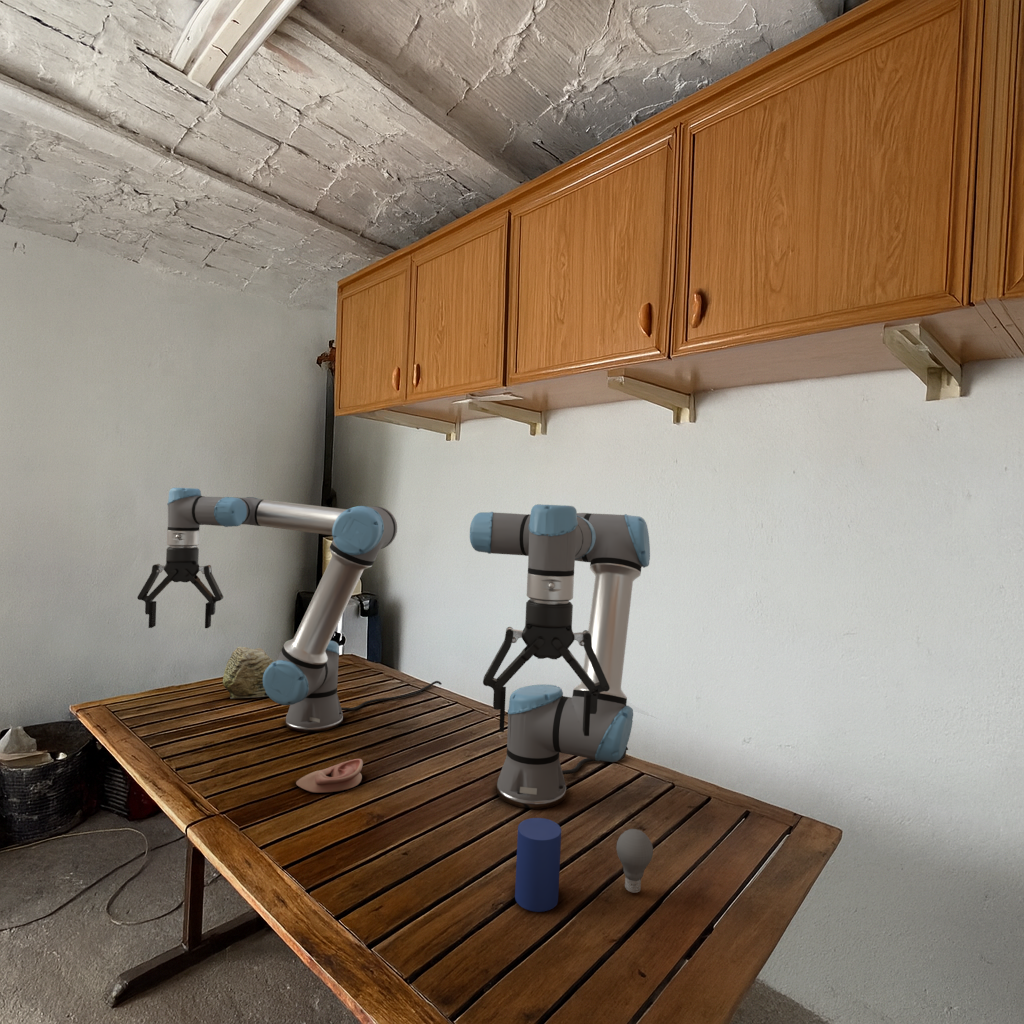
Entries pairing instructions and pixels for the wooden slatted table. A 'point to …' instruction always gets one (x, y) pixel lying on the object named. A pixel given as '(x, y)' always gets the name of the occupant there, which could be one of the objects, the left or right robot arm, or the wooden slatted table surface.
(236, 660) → the fossil
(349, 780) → the anatomical model
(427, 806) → the wooden slatted table surface
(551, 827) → the blue cylinder
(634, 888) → the light bulb
